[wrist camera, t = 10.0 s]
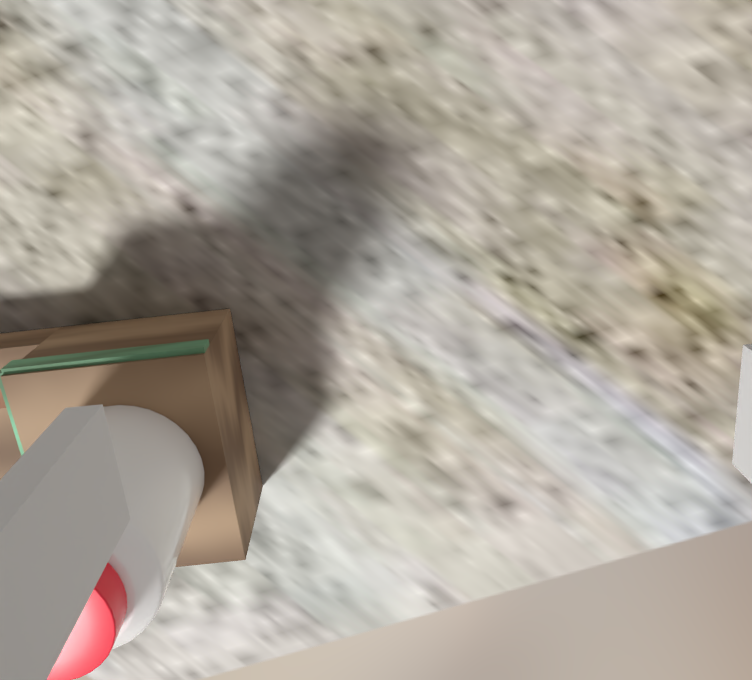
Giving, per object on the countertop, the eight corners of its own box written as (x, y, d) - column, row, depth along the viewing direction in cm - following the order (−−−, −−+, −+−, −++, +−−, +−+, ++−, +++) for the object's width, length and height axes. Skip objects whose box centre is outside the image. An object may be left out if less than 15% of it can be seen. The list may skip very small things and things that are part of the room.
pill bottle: (83, 548, 38) (-19, 722, 28) (29, 421, 35) (-106, 560, 25) (223, 520, 38) (173, 686, 27) (179, 390, 35) (106, 517, 25)
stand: (-109, 340, 42) (-205, 392, 35) (229, 303, 41) (202, 348, 34) (-45, 519, 46) (-118, 599, 39) (262, 487, 46) (245, 561, 38)
